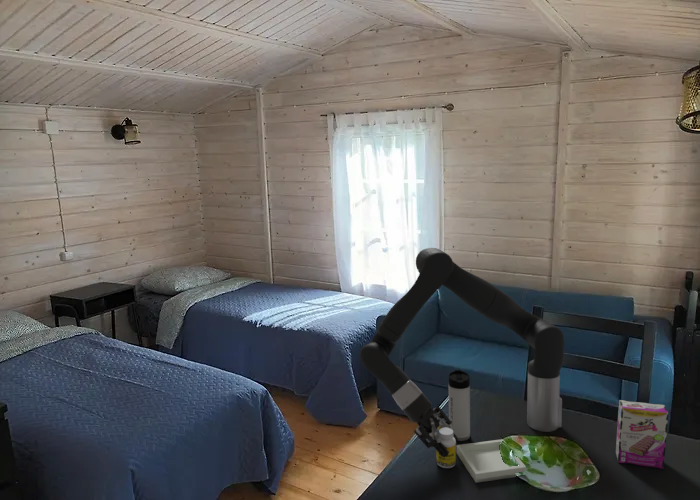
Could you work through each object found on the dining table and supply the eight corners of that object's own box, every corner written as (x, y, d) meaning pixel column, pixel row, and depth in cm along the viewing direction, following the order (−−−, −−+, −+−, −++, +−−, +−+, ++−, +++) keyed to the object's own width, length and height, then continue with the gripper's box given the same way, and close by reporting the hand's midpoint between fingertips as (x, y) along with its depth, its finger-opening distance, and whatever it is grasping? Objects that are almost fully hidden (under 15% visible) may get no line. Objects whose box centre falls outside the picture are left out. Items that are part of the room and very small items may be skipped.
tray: (502, 447, 150) (502, 439, 150) (525, 475, 137) (526, 466, 136) (456, 453, 148) (456, 445, 148) (475, 482, 135) (475, 473, 134)
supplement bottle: (436, 468, 142) (435, 435, 140) (436, 457, 147) (435, 425, 145) (456, 469, 141) (456, 436, 139) (455, 458, 146) (455, 426, 144)
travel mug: (468, 430, 161) (468, 369, 157) (471, 441, 154) (471, 378, 151) (448, 429, 161) (447, 369, 158) (450, 441, 155) (449, 378, 151)
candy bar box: (618, 463, 140) (620, 407, 137) (615, 453, 145) (617, 399, 142) (665, 470, 136) (669, 412, 133) (660, 459, 141) (664, 403, 138)
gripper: (409, 404, 138) (451, 455, 134) (429, 383, 150) (469, 429, 146) (392, 418, 142) (432, 468, 138) (413, 396, 154) (451, 442, 150)
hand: (451, 448), depth 142 cm, fingers open, 7 cm apart
